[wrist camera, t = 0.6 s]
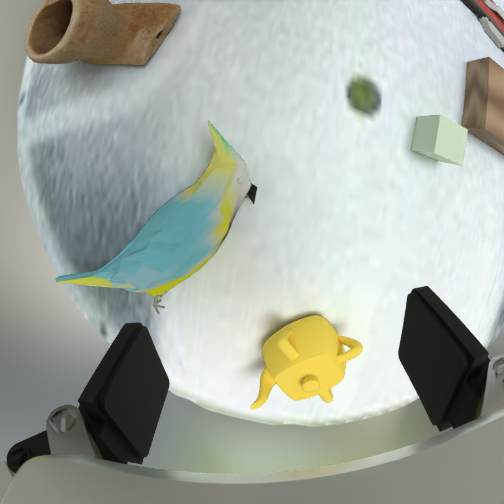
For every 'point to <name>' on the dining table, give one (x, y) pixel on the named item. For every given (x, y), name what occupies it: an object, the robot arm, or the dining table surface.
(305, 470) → the robot arm
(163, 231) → the decorative bird
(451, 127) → the sage block
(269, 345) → the teapot
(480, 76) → the walnut box
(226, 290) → the dining table surface
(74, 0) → the clay spout
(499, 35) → the walkie-talkie
